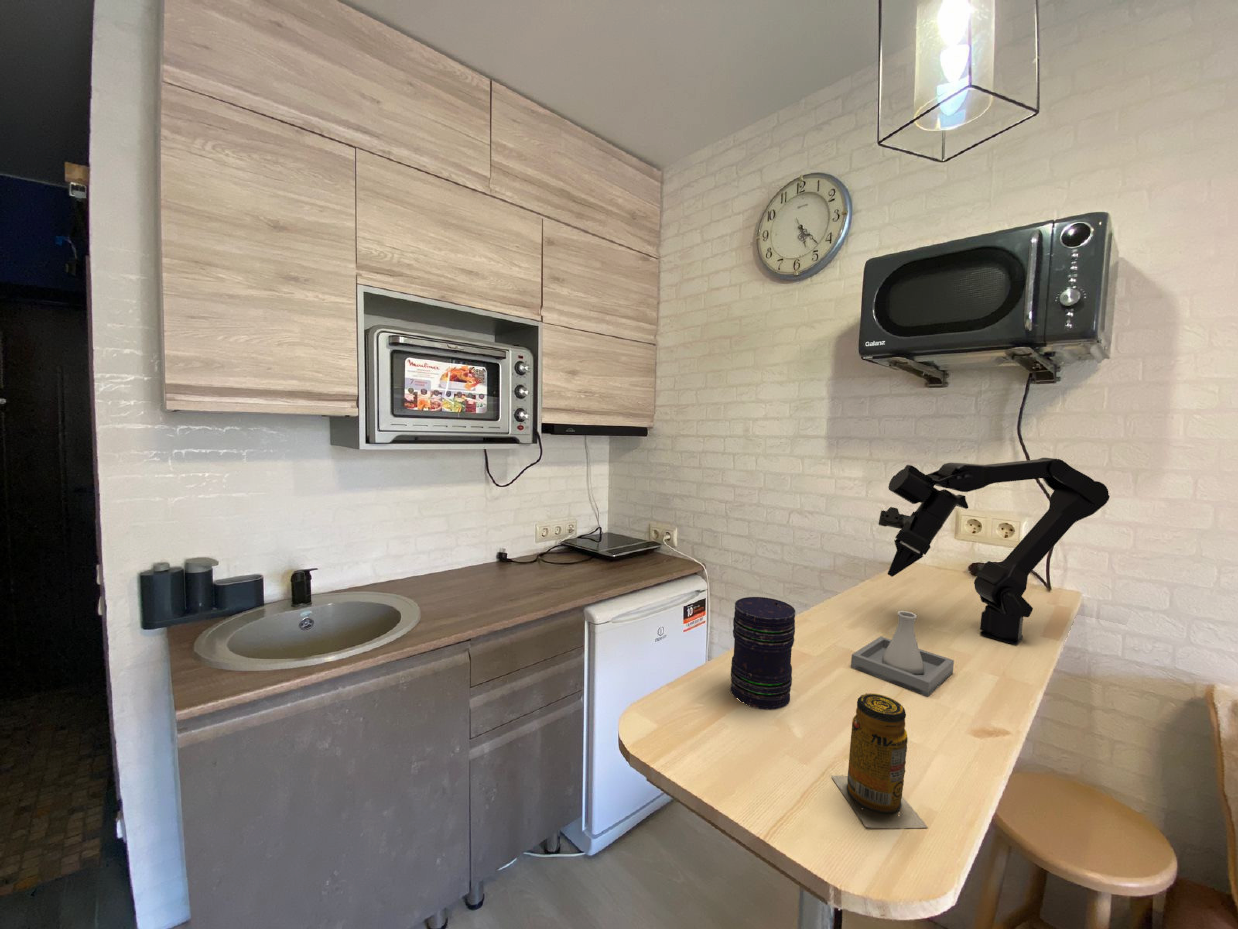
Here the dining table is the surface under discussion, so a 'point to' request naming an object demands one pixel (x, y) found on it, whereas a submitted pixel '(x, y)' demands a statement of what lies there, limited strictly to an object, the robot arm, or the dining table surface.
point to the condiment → (878, 765)
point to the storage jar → (762, 652)
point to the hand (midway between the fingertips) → (890, 575)
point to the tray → (923, 683)
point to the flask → (904, 646)
